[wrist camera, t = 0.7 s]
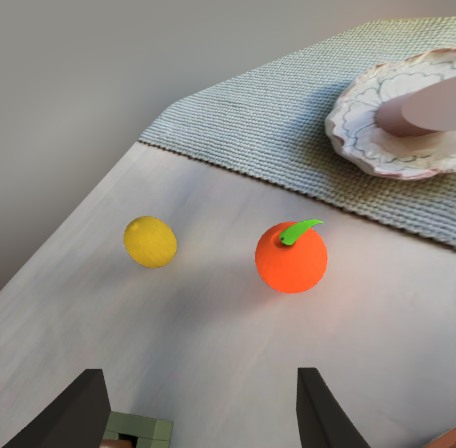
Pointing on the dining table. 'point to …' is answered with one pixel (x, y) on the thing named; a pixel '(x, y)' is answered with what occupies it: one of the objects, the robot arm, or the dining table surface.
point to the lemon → (150, 242)
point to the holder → (139, 430)
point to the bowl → (443, 440)
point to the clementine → (291, 256)
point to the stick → (117, 443)
